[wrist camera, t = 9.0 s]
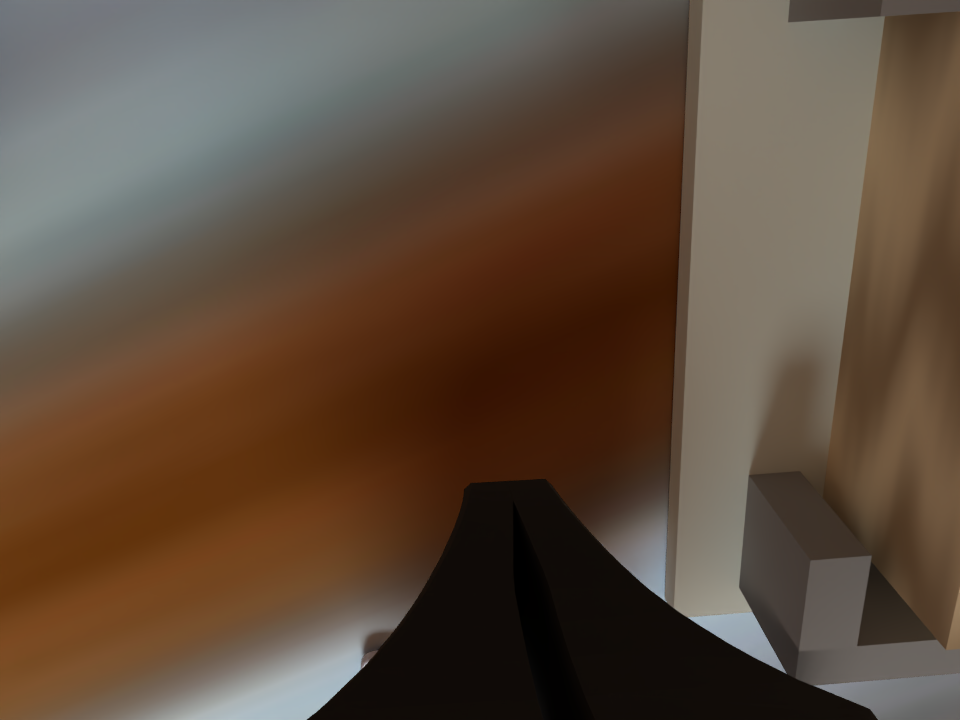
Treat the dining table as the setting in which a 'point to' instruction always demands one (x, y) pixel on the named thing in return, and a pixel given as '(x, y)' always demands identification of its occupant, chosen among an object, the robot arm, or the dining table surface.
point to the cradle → (777, 335)
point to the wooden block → (907, 330)
